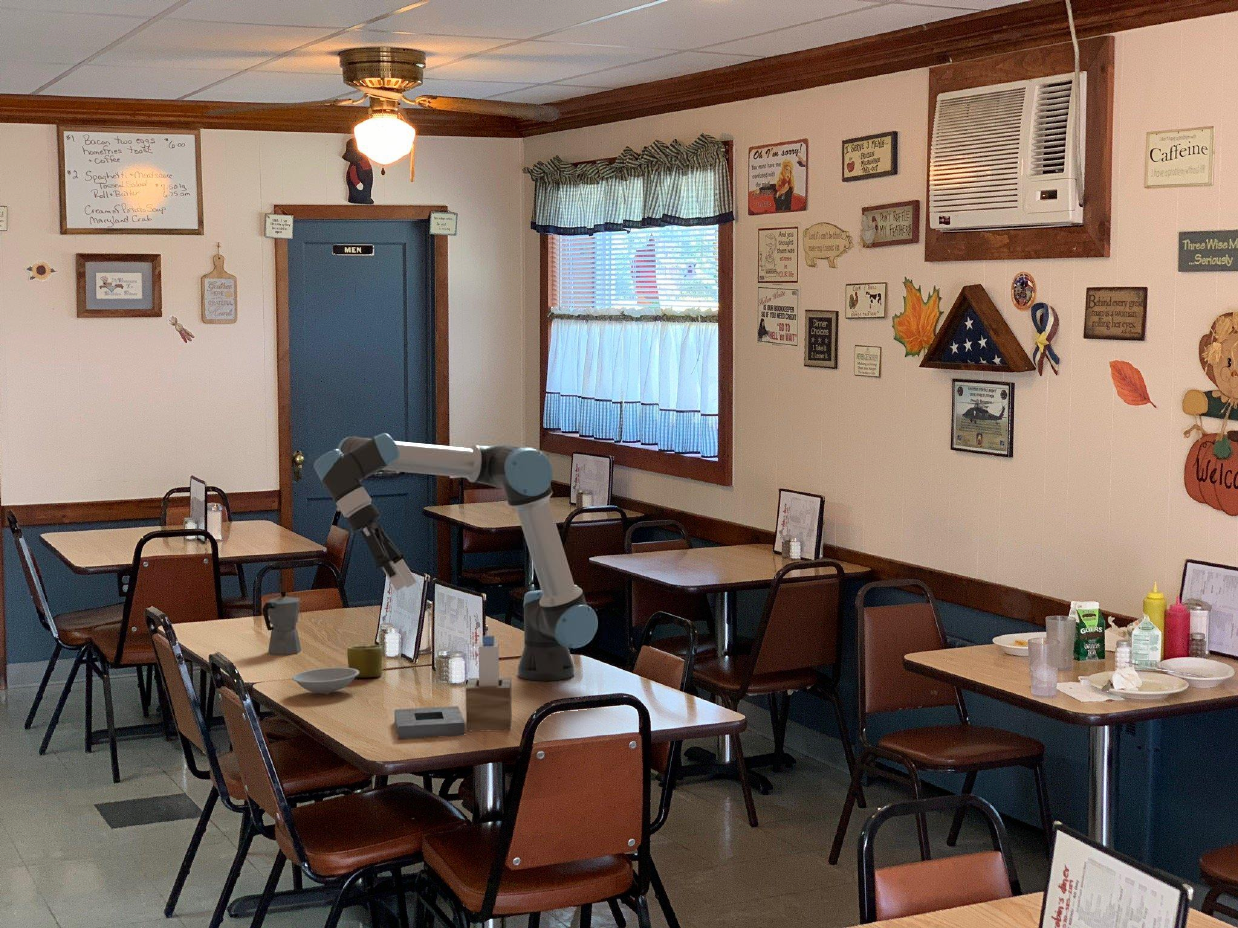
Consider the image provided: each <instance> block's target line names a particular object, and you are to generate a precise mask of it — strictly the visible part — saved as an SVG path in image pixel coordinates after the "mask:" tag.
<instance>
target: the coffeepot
mask: <svg viewBox="0 0 1238 928" xmlns="http://www.w3.org/2000/svg"><path fill="white" fill-rule="evenodd" d="M280 595H281V596H279V597H274V598H271V599H269V600H267V601H266V602H265V603H264V605H263V607H262V615H263V619H264V622H265V626H266V628H267V629H266V630H267V631H271V632H270V638H269V644H268V651H267V652H268V653H269V654H270V655H273V656H288V655H290V656H291V655H295V654H296V655H297V654H298V653H300V652H301V651H302V648H301V642H300V637H299V632H298V629H297V623H298V622H299V621H298V620H299V613H300V605H301V598H300V597H291V596H287V591H286V590H280Z"/></svg>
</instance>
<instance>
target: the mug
mask: <svg viewBox="0 0 1238 928" xmlns="http://www.w3.org/2000/svg"><path fill="white" fill-rule="evenodd" d="M383 652H384V649H383V646H382V645H380V644H367V645H352V646H349V647H347V651H346V653H347V654H346V656H347V666H348V667H347V668H352V669H356V670H358V671H359V675H357V676H356V677H355V678H354V679H365V678H379V677H381V676H382V674H383V655H384V654H383Z"/></svg>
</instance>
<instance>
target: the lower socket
mask: <svg viewBox="0 0 1238 928" xmlns="http://www.w3.org/2000/svg"><path fill="white" fill-rule="evenodd" d="M394 725H395V730H396V736H397V735H398V736H397V739H398V740H407V739H406V738H414V739H425V738H424V737H431V738H440V737H439V736H447V737H460V735H464V734H465V735H466V728H465V727H466V722H465V720H464V717H463V715H462V712H461V710H460V707H459V705H457V706H456V705H455V706H454V705H453V706H437V707H436V706H435V707H433V706H432V707H417V708H403V709H402V708H400V709H399V708H398V709H394ZM465 735H464V736H465Z"/></svg>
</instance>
